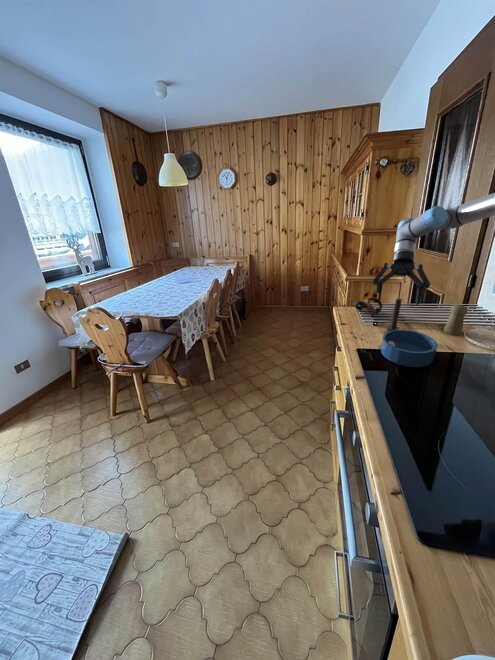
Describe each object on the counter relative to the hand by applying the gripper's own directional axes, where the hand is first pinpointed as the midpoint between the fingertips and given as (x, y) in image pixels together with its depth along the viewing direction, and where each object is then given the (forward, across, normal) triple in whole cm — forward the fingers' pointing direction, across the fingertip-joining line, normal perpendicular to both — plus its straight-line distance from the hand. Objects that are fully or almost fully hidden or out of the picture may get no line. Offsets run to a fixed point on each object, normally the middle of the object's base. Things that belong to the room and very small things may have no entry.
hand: (398, 301), depth 111 cm
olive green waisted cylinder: (+5, -22, -13) cm, 26 cm away
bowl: (+22, -4, +4) cm, 22 cm away
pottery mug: (-2, +11, -20) cm, 23 cm away
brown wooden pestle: (+11, 0, -6) cm, 13 cm away
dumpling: (+20, +1, +5) cm, 20 cm away
